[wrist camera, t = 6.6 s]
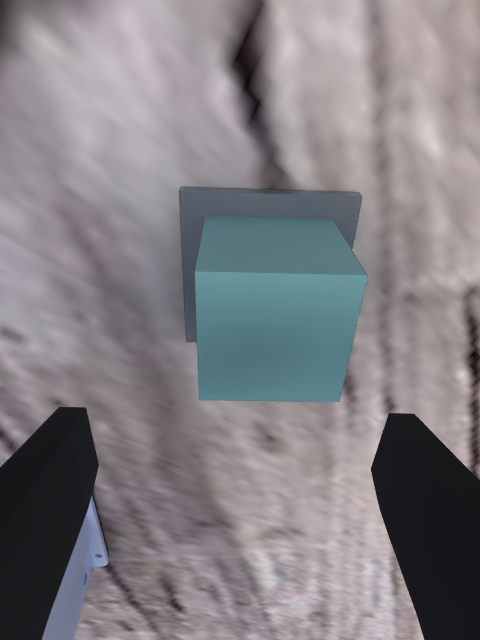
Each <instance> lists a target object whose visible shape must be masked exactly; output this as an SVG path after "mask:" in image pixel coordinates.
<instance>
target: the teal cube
mask: <svg viewBox="0 0 480 640" xmlns="http://www.w3.org/2000/svg"><path fill="white" fill-rule="evenodd" d="M367 276H368V275H367V274H366V272H365V271H364V269H363V267H362V266H361V264H360V263H359V261H358V259H357V258H356V256H355V255H354V253H353V251H352V250H351V248H350V247H349V245H348V243H347V242H346V240H345V239H344V237H343V235H342V234H341V232H340V231H339V229H338V228H337V226H336V224H335V223H334V221H333V220H332V219H300V218H263V217H226V216H205V221H204V226H203V232H202V237H201V242H200V247H199V253H198V258H197V263H196V268H195V291H196V323H197V355H198V387H199V400H227V401H293V402H340V398H341V393H342V389H343V384H344V380H345V375H346V371H347V366H348V362H349V357H350V353H351V348H352V344H353V339H354V335H355V330H356V326H357V321H358V317H359V312H360V307H361V303H362V298H363V294H364V289H365V285H366V280H367Z"/></svg>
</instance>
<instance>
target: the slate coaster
mask: <svg viewBox="0 0 480 640" xmlns="http://www.w3.org/2000/svg"><path fill="white" fill-rule="evenodd" d="M361 201H362V196H361V194H360V193H359V192H334V191H301V190H267V189H234V188H201V187H180V190H179V202H180V223H181V244H182V265H183V286H184V307H185V328H186V342H197V323H196V291H195V268H196V263H197V258H198V253H199V247H200V242H201V237H202V232H203V226H204V221H205V216H226V217H263V218H300V219H332V220H333V221H334V223H335V224H336V226H337V228H338V229H339V231H340V232H341V234H342V235H343V237H344V239H345V240H346V242H347V243H348V245H349V247H350V248H351V250H352V248H353V243H354V237H355V232H356V227H357V222H358V217H359V211H360V206H361Z"/></svg>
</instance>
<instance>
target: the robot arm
mask: <svg viewBox="0 0 480 640" xmlns="http://www.w3.org/2000/svg"><path fill="white" fill-rule="evenodd" d="M98 466H99V464H98V459H97V455H96V450H95V446H94V442H93V437H92V433H91V428H90V424H89V419H88V415H87V410H86V408H82V407H59V408H58V409H57V410H56V411H55V412H54V413H53V414H52V415H51V416H50V417H49V418H48V419H47V420H46V421H45V422H44V423H43V424H42V425H41V426H40V427H39V428H38V429H37V430H36V431H35V433H34V434H33V435H32V436H31V437H30V438H29V439H28V440H27V441H26V442H25V443H24V444H23V445H22V446H21V447H20V448H19V449H18V450H17V451H16V452H15V453H14V454H13V455H12V456H11V457H10V458H9V459H8V460H7V461H6V462H5V463H4V464H3V465H2V466H1V467H0V640H73V638H74V635H75V631H76V627H77V624H78V620H79V617H80V613H81V610H82V606H83V602H84V599H85V595H86V592H87V588H88V584H89V581H90V577H91V574H92V570H93V567H94V566H106V565H107V564H108V560H109V557H108V553H107V550H106V546H105V542H104V538H103V535H102V531H101V527H100V523H99V520H98V516H97V512H96V508H95V505H94V501H93V497H92V492H93V488H94V484H95V479H96V475H97V470H98ZM371 472H372V477H373V481H374V486H375V491H376V495H377V499H378V503H379V508H380V512H381V514H382V517H383V520H384V523H385V526H386V529H387V532H388V535H389V538H390V541H391V543H392V546H393V549H394V552H395V555H396V558H397V560H398V563H399V566H400V569H401V572H402V574H403V577H404V580H405V583H406V586H407V589H408V591H409V594H410V597H411V600H412V603H413V605H414V608H415V611H416V614H417V617H418V620H419V623H420V627H421V630H422V633H423V636H424V640H480V480H479V479H478V478H477V477H475V476H474V475H473V474H472V473H471V471H470V470H469V469H468V468H467V467H466V466H465V465H464V464H463V463H462V462H461V461H460V460H459V459H458V458H457V457H456V456H455V455H454V454H453V453H452V452H451V451H450V450H449V449H448V448H447V447H446V446H445V445H444V444H443V443H442V442H441V441H440V440H439V439H438V438H437V437H436V436H435V435H434V434H433V433H432V431H431V430H430V429H429V428H428V427H427V426H426V425H425V424H424V423H423V422H422V421H421V420H420V419H419V418H418V417H417V416H416V415H415V414H400V413H389V415H388V418H387V421H386V424H385V427H384V430H383V433H382V436H381V439H380V442H379V445H378V448H377V452H376V455H375V458H374V461H373V464H372V467H371Z"/></svg>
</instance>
